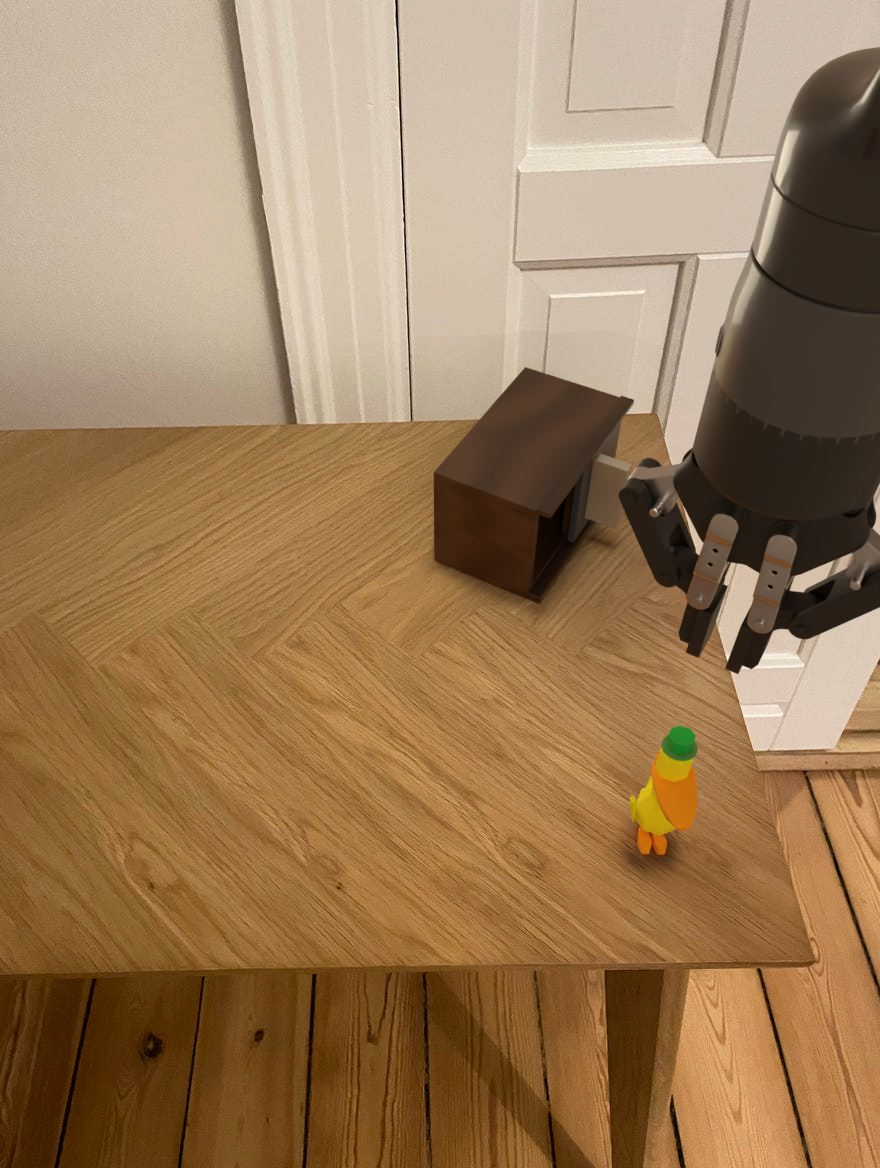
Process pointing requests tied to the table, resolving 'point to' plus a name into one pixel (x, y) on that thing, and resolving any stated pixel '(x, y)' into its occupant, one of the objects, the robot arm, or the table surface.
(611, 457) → the door
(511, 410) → the cupboard
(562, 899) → the table surface
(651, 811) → the toy figure
